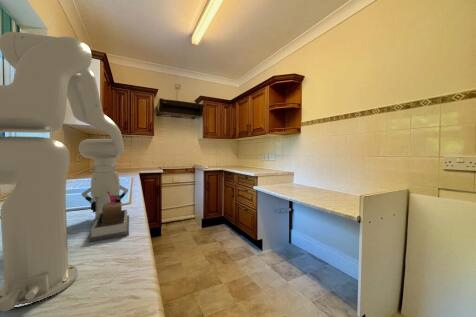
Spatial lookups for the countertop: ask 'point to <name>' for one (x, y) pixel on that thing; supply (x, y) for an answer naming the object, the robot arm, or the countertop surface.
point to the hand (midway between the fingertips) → (106, 209)
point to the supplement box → (103, 202)
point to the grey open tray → (110, 223)
